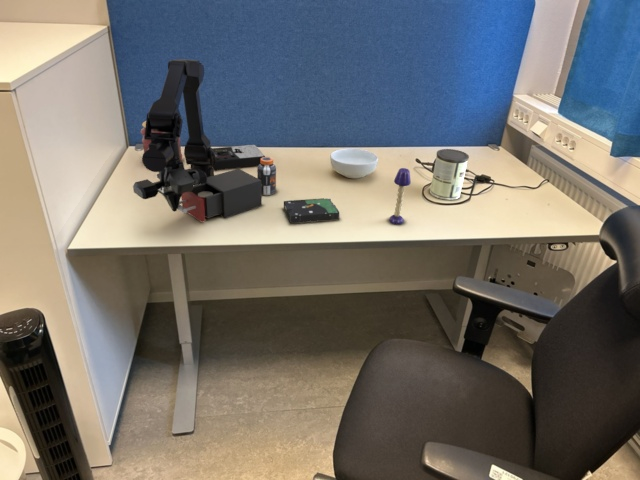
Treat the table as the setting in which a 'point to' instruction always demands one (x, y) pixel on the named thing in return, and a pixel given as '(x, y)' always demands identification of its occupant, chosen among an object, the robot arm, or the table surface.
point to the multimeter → (237, 157)
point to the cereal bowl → (353, 162)
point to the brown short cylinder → (203, 195)
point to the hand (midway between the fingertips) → (174, 210)
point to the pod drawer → (202, 202)
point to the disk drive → (310, 210)
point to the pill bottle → (267, 175)
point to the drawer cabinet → (237, 191)
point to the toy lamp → (400, 194)
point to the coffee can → (448, 174)
